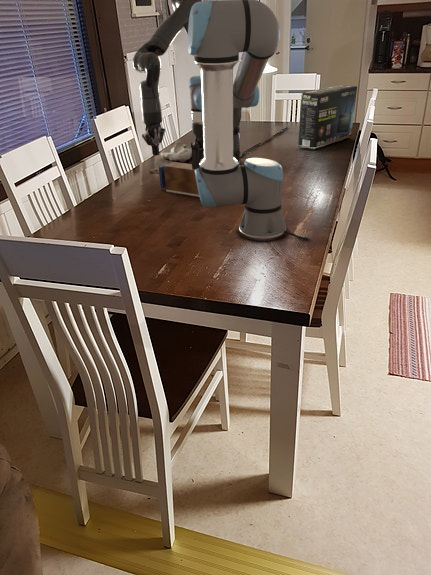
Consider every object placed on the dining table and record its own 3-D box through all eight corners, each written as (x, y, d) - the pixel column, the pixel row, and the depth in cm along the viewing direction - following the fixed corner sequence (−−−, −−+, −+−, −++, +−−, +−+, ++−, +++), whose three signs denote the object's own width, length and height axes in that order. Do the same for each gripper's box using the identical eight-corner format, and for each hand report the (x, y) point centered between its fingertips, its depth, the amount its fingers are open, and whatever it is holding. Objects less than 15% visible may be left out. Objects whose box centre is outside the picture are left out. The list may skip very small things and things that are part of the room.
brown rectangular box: (166, 191, 187) (163, 166, 182) (174, 186, 192) (172, 161, 187) (210, 198, 178) (208, 172, 173) (218, 193, 183) (217, 167, 178)
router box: (314, 151, 231) (318, 94, 217) (296, 148, 237) (299, 92, 224) (352, 138, 251) (358, 85, 238) (335, 135, 258) (340, 83, 245)
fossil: (184, 156, 217) (163, 136, 220) (174, 174, 223) (154, 154, 227) (205, 153, 231) (186, 134, 234) (195, 171, 237) (176, 152, 240)
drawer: (149, 186, 191) (147, 165, 187) (156, 182, 195) (154, 162, 191) (201, 194, 180) (200, 172, 176) (208, 190, 184) (207, 168, 180)
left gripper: (153, 106, 183) (158, 150, 192) (133, 112, 173) (138, 158, 182) (169, 107, 180) (172, 152, 189) (149, 113, 170) (154, 160, 179)
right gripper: (206, 116, 177) (209, 175, 189) (179, 126, 163) (183, 189, 175) (223, 117, 174) (225, 177, 186) (197, 128, 159) (200, 192, 171)
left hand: (156, 155), depth 185 cm, fingers closed
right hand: (204, 183), depth 180 cm, fingers closed on brown rectangular box, 6 cm apart
